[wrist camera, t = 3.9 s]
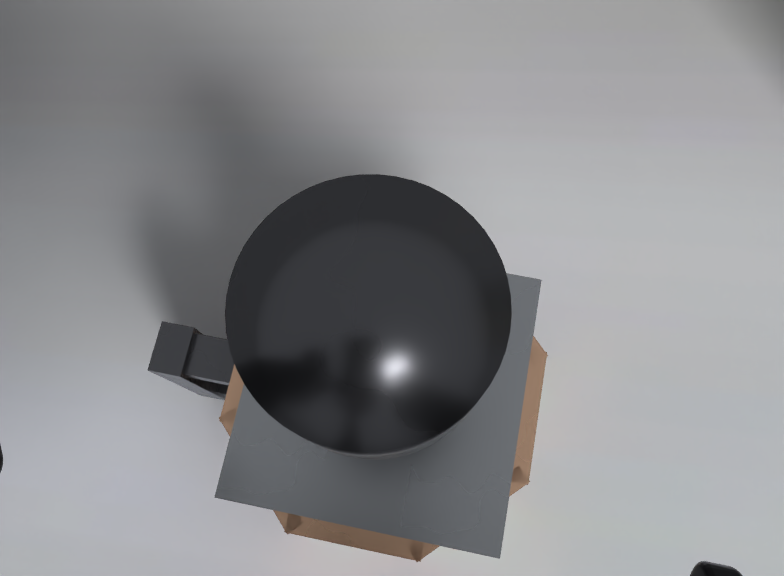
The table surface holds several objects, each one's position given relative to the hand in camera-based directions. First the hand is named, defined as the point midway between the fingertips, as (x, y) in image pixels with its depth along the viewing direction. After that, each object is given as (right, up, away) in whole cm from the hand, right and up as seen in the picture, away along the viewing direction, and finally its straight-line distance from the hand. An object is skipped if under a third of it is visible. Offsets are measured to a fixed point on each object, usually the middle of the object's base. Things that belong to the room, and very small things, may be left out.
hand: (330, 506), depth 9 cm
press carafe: (0, -1, +12) cm, 12 cm away
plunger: (+1, 0, +8) cm, 8 cm away
